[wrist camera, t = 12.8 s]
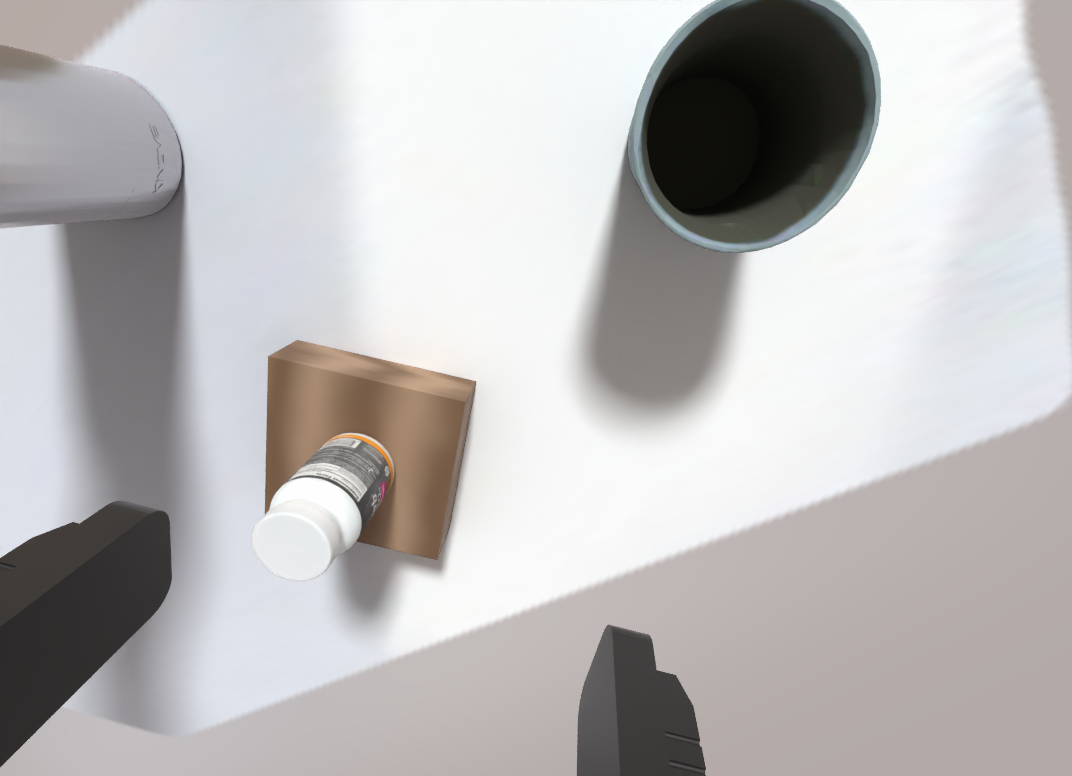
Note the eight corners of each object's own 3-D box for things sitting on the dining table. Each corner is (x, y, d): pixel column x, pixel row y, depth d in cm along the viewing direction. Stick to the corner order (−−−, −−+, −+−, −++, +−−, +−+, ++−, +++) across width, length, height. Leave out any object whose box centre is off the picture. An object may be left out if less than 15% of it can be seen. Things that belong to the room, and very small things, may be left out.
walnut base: (290, 492, 46) (264, 520, 42) (297, 340, 40) (268, 356, 37) (449, 528, 46) (437, 559, 42) (476, 381, 40) (465, 401, 37)
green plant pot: (751, 17, 31) (847, -75, 19) (801, 186, 34) (909, 188, 22) (590, 106, 33) (593, 68, 22) (650, 255, 36) (681, 289, 25)
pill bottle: (376, 509, 40) (316, 605, 31) (309, 471, 40) (227, 558, 30) (410, 455, 39) (357, 540, 29) (340, 414, 38) (263, 488, 29)
